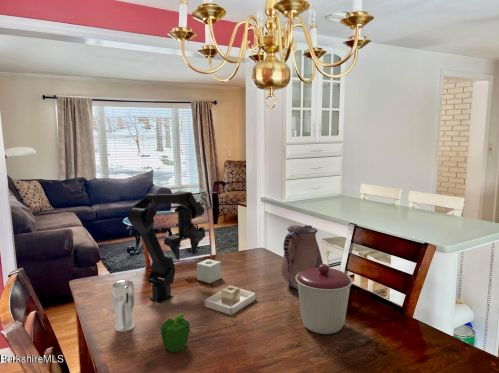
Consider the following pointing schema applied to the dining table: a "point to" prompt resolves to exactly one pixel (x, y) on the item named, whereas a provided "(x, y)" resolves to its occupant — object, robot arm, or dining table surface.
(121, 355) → the dining table surface
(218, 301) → the tray
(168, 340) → the bell pepper
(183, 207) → the robot arm
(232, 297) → the maple block
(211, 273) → the sage block
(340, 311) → the canister
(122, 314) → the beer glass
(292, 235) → the ceramic pitcher
